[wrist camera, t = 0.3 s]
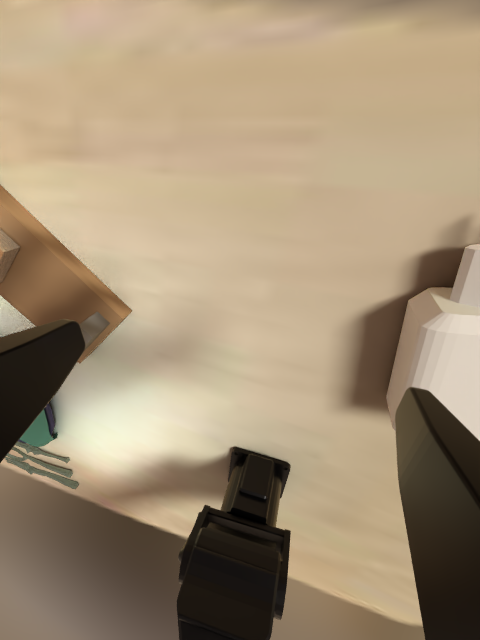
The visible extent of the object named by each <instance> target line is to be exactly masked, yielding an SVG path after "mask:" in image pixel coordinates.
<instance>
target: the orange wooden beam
mask: <svg viewBox="0 0 480 640" xmlns="http://www.w3.org/2000/svg"><path fill="white" fill-rule="evenodd" d="M19 248H20V246H19V245H18V244H16V243H15V242H14V241H13V240H12V239H11V238H10V237H9V236H8V235H7V234H6V233H4V232H3V231H2V230H1V229H0V282H2V281H3V280H4V278H5V276H6V274H7V272H8V270H9V268H10V266H11V264H12V262H13V260H14V258H15V256H16V254H17V252H18V250H19Z"/></svg>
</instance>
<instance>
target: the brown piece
mask: <svg viewBox="0 0 480 640" xmlns="http://www.w3.org/2000/svg"><path fill="white" fill-rule="evenodd" d="M0 229H1V230H2V231H3V232H4V233H6V234H7V235H8V236H9V237H10V238H11V239H12V240H13V241H14V242H15V243H16V244H18V245H19V246H20V248H19V250H18V252H17V254H16V256H15V258H14V260H13V262H12V264H11V266H10V268H9V270H8V272H7V274H6V276H5V278H4V280H3V281H2V282H0V295H1V296H2V297H3V298H4V299H5V300H7V301H8V302H9V303H10V304H11V305H12V306H14V307H15V308H16V309H17V310H18V311H19V312H21V313H22V314H23V315H24V316H25V317H26V318H27V319H29V320H30V321H31V322H32V323H33V324H34V325H36V326H40V325H44V324H47V323H50V322H54V321H57V320H60V319H69V320H74V321H77V322H78V323H79V325H80V327H81V330H82V333H83V337H84V340H85V343H86V346H85V350H84V352H83V354H82V355H81V357H80V358H79V360H78V361H77V362H78V363H81V362H82V361H83V360H84V359H85V358H87V357H88V356H89V355H90V354H91V353H92V352H93V351H94V350H95V349H96V348H97V347H98V346H99V345H100V344H101V343H102V342H103V341H104V339H105V338H106V337H107V336H108V335H109V334H110V333H111V332H112V331H113V330H114V329H115V328H116V327H117V326H118V325H119V324H120V323H121V322H122V321H123V320H124V319H125V318H126V317H127V316H128V315H129V314H130V313H131V312H132V310H131V309H130V308H129V307H128V306H127V305H126V304H124V303H123V302H122V301H121V300H120V299H119V298H118V297H117V296H116V295H115V294H114V293H113V292H112V291H111V290H110V289H109V288H108V287H107V286H106V285H105V284H104V283H102V282H101V281H100V280H99V279H98V278H97V277H96V276H95V275H94V274H93V273H92V272H91V271H90V270H89V269H88V268H87V267H86V266H85V265H84V264H83V263H82V262H81V261H79V260H78V259H77V258H76V257H75V256H74V255H73V254H72V253H71V252H70V251H69V250H68V249H67V248H66V247H65V246H64V245H63V244H62V243H61V242H60V241H59V240H57V239H56V238H55V237H54V236H53V235H52V234H51V233H50V232H49V231H48V230H47V229H46V228H45V227H44V226H43V225H42V224H41V223H40V222H39V221H38V220H37V219H36V218H34V217H33V216H32V215H31V214H30V213H29V212H28V211H27V210H26V209H25V208H24V207H23V206H22V205H21V204H20V203H19V202H18V201H17V200H16V199H15V198H14V197H12V196H11V195H10V194H9V193H8V192H7V191H6V190H5V189H4V188H3V187H2V186H1V185H0Z"/></svg>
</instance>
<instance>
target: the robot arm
mask: <svg viewBox="0 0 480 640" xmlns="http://www.w3.org/2000/svg"><path fill="white" fill-rule="evenodd" d="M85 346H86V343H85V340H84V337H83V333H82V330H81V327H80V325H79V323H78V322H77V321H74V320H69V319H60V320H57V321H54V322H50V323H47V324H44V325H40V326H37V327H34V328H31V329H27V330H24V331H21V332H17V333H14V334H11V335H7V336H4V337H1V338H0V463H1V461H2V460H3V459H4V458H5V456H6V455H7V454H8V453H9V451H10V450H11V449H12V448H13V447H14V445H15V444H16V443H17V442H18V440H19V439H20V438H21V437H22V435H23V434H24V433H25V432H26V430H27V429H28V428H29V427H30V425H31V424H32V423H33V422H34V420H35V419H36V418H37V417H38V415H39V414H40V413H41V412H42V410H43V409H44V408H45V407H46V405H47V404H48V403H49V402H50V400H51V399H52V398H53V397H54V395H55V394H56V393H57V391H58V390H59V388H60V387H61V385H62V384H63V382H64V381H65V379H66V378H67V376H68V375H69V373H70V372H71V370H72V369H73V367H74V366H75V364H76V363H77V361H78V360H79V358H80V357H81V355H82V354H83V352H84V350H85ZM395 427H396V446H397V465H398V480H399V487H400V494H401V500H402V506H403V512H404V517H405V523H406V529H407V535H408V541H409V547H410V552H411V558H412V564H413V570H414V576H415V582H416V587H417V593H418V599H419V605H420V611H421V617H422V622H423V628H424V633H425V640H480V441H479V440H478V439H477V438H476V437H475V436H474V435H473V434H472V433H471V432H470V431H469V430H468V429H467V428H466V427H465V426H464V425H463V424H462V423H461V422H460V421H459V420H458V419H457V418H456V417H455V416H454V415H453V414H452V413H451V412H450V411H449V410H448V409H447V408H446V407H445V406H444V405H443V404H442V403H441V402H440V401H439V400H438V399H437V398H436V397H435V396H434V395H433V394H432V393H431V392H430V391H428V390H426V389H421V388H416V387H409V388H407V390H406V391H405V393H404V395H403V397H402V399H401V401H400V404H399V406H398V408H397V410H396V414H395ZM289 472H290V464H289V463H286V462H283V461H279V460H276V459H273V458H269V457H266V456H263V455H259V454H256V453H253V452H249V451H246V450H243V449H239V448H233V451H232V456H231V463H230V470H229V477H228V482H229V484H228V487H227V490H226V494H225V497H224V500H223V504H222V507H221V510H217V509H214V508H211V507H210V506H208V505H205V506H204V508H203V510H202V512H199V514H198V517H197V520H196V522H195V525H194V527H193V530H192V532H191V534H190V535H189V537H188V539H187V540H186V542H185V544H184V546H183V547H182V549H181V551H180V553H179V557H178V558H179V561H180V564H181V565H180V573H179V583H180V584H182V585H181V589H180V592H179V595H178V599H177V613H178V626H179V639H180V640H270V637H271V633H272V625H273V617H274V618H276V619H279V620H281V618H282V613H283V608H284V601H285V594H286V585H287V575H288V561H289V547H290V532H291V531H289V530H286V529H285V530H282V529H279V528H276V521H277V514H278V507H279V500H280V498H281V497H282V494H283V491H284V487H285V484H286V481H287V478H288V475H289Z"/></svg>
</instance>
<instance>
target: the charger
mask: <svg viewBox="0 0 480 640" xmlns="http://www.w3.org/2000/svg"><path fill="white" fill-rule="evenodd" d="M409 387H416V388H421V389H426V390H428V391H430V392H431V393H432V394H433V395H434V396H435V397H436V398H437V399H438V400H439V401H440V402H441V403H442V404H443V405H444V406H445V407H446V408H447V409H448V410H449V411H450V412H451V413H452V414H453V415H454V416H455V417H456V418H457V419H458V420H459V421H460V422H461V423H462V424H463V425H464V426H465V427H466V428H467V429H468V430H469V431H470V432H471V433H472V434H473V435H474V436H475V437H476V438H477V439H478V440H479V441H480V244H473V245H469V246H467V247H465V250H464V253H463V256H462V260H461V263H460V266H459V270H458V273H457V276H456V280H455V283H454V286H453V288H444V287H433V288H428V289H426V290H425V291H423V292H421V293H419V294H418V295H416V296H414V297H413V298H411V299H409V300H408V304H407V309H406V313H405V317H404V322H403V326H402V330H401V335H400V339H399V344H398V348H397V352H396V357H395V361H394V365H393V370H392V374H391V379H390V383H389V387H388V392H387V396H386V400H387V404H388V409H389V413H390V418H391V423H392V427H393V429H394V430H395V431H396V427H395V414H396V410H397V408H398V406H399V404H400V401H401V399H402V397H403V395H404V393H405V391H406V390H407V388H409Z"/></svg>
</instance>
